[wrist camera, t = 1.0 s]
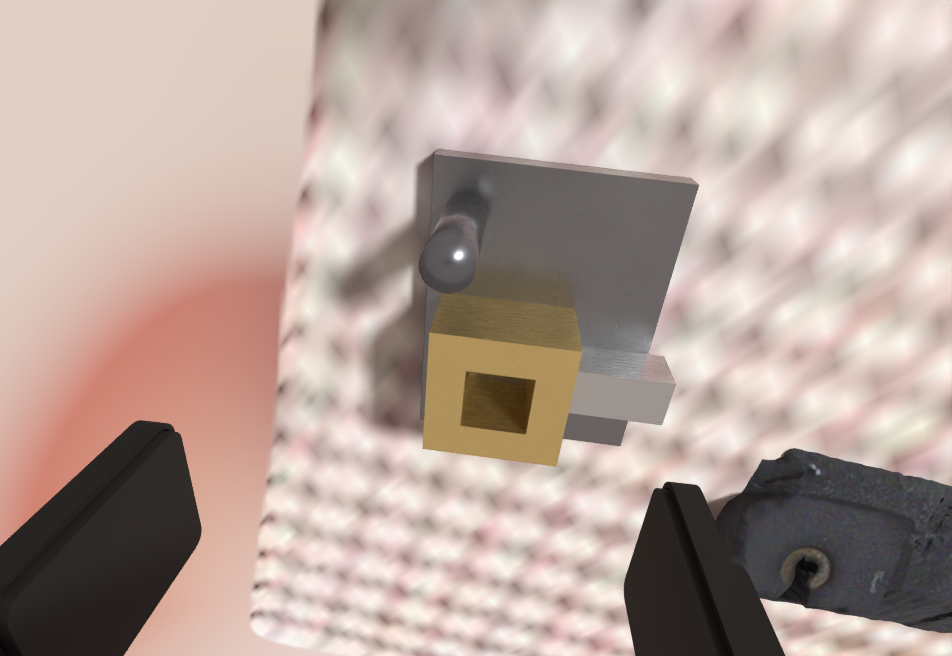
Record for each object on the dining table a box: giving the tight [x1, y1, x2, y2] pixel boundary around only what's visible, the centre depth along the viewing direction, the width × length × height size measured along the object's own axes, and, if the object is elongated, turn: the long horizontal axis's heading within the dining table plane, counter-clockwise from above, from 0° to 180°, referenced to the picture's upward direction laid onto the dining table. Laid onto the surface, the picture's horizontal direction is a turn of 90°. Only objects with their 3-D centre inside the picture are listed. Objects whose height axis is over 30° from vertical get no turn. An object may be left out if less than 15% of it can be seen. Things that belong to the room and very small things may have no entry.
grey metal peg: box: [419, 192, 488, 294], centre depth 26 cm, size 2×2×8 cm
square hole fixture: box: [420, 149, 699, 466], centre depth 30 cm, size 18×15×6 cm
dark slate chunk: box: [715, 448, 952, 633], centre depth 39 cm, size 15×22×5 cm
